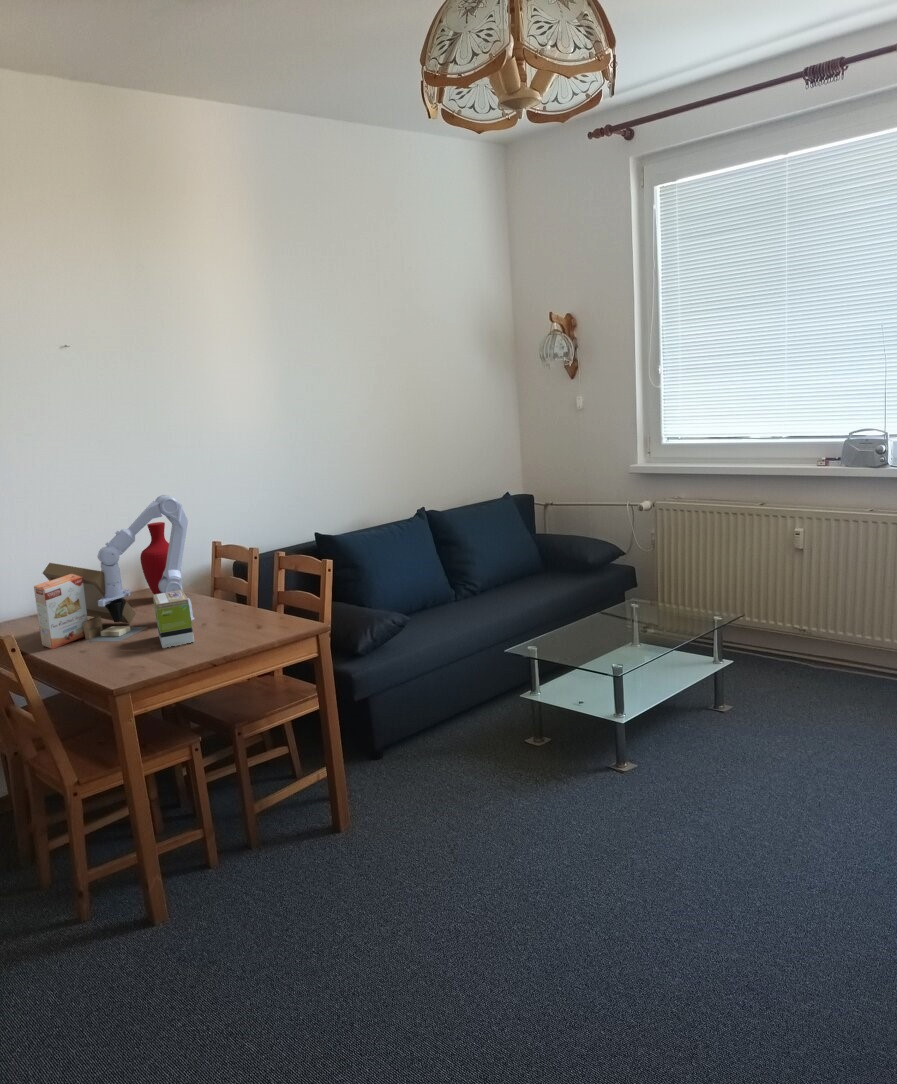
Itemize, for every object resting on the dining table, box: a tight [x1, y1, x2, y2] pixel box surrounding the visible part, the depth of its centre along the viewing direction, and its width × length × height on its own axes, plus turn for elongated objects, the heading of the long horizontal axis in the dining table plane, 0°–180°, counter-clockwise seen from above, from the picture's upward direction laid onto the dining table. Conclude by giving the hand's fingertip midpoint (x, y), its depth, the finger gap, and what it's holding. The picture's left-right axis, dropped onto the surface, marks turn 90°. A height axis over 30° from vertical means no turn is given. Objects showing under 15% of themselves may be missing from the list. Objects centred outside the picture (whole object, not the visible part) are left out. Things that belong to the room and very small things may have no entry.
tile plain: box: [83, 616, 104, 640], centre depth 282 cm, size 7×2×6 cm, turn 165°
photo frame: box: [42, 562, 137, 624], centre depth 291 cm, size 15×22×25 cm
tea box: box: [152, 589, 195, 649], centre depth 271 cm, size 15×10×15 cm
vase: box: [140, 521, 182, 595], centre depth 329 cm, size 15×15×30 cm
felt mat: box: [82, 626, 149, 643], centre depth 284 cm, size 14×16×1 cm
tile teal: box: [100, 625, 131, 636], centre depth 284 cm, size 7×2×6 cm
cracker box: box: [33, 574, 88, 650], centre depth 275 cm, size 14×6×21 cm, turn 148°
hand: (117, 621), depth 285 cm, fingers closed
